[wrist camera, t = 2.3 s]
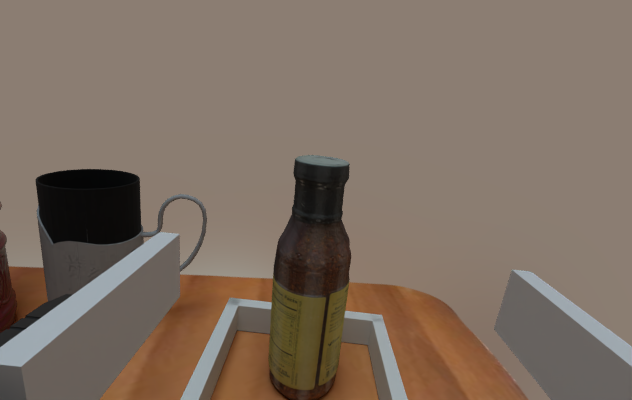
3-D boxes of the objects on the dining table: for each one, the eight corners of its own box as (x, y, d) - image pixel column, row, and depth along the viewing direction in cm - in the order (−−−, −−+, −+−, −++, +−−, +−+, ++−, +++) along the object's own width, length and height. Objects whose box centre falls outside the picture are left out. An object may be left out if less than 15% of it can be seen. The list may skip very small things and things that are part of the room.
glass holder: (69, 298, 35) (56, 165, 31) (205, 291, 39) (209, 174, 35) (24, 358, 27) (-3, 188, 23) (201, 341, 31) (205, 196, 27)
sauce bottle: (320, 345, 32) (349, 154, 27) (346, 397, 27) (389, 170, 21) (257, 356, 30) (275, 149, 25) (271, 416, 24) (299, 164, 19)
